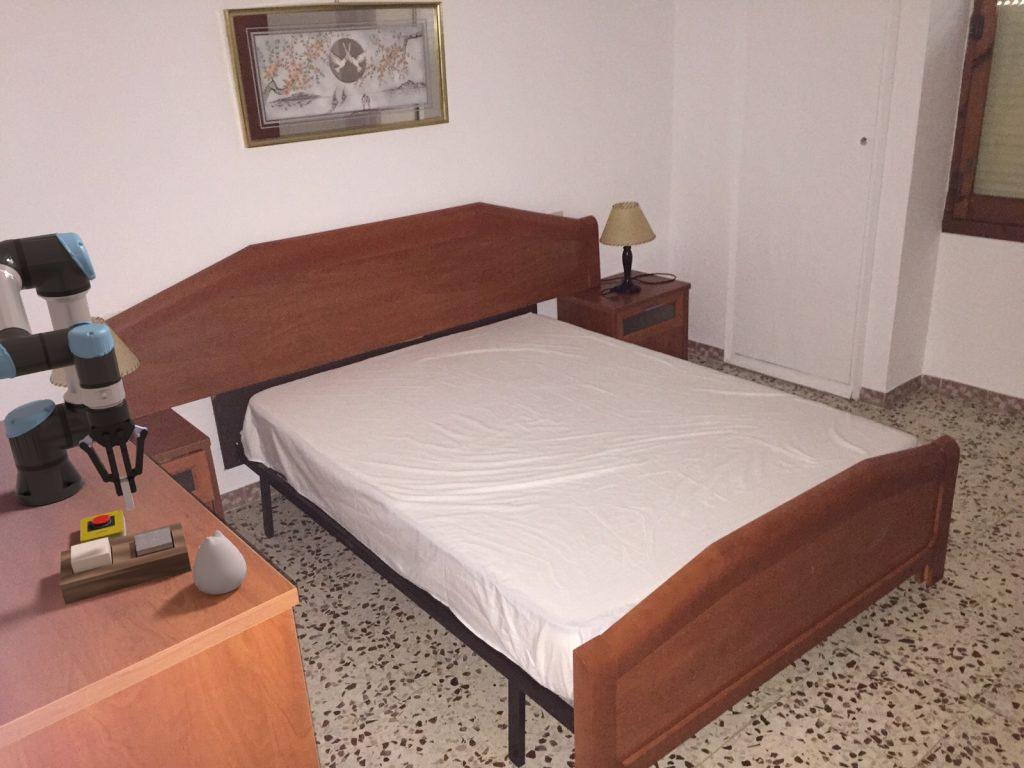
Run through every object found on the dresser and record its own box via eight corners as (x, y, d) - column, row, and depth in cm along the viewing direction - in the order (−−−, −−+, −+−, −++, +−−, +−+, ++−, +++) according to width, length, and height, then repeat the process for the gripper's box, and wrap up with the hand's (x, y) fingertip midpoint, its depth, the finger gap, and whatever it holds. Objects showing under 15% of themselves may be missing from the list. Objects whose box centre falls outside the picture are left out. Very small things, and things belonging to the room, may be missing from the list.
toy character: (219, 566, 175) (209, 517, 171) (259, 576, 171) (250, 525, 167) (184, 594, 166) (172, 542, 162) (225, 604, 163) (215, 552, 158)
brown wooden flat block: (66, 569, 177) (60, 551, 175) (184, 539, 186) (180, 522, 185) (65, 604, 165) (59, 585, 163) (191, 570, 175) (187, 551, 173)
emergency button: (121, 501, 196) (123, 530, 184) (125, 517, 198) (128, 547, 185) (78, 511, 193) (77, 541, 180) (82, 528, 194) (82, 559, 182)
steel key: (137, 549, 179) (134, 535, 178) (172, 540, 182) (169, 527, 180) (139, 565, 173) (136, 551, 172) (175, 555, 176) (172, 541, 174)
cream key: (74, 560, 174) (71, 546, 172) (111, 550, 176) (107, 537, 175) (74, 576, 168) (70, 562, 166) (112, 567, 170) (108, 552, 169)
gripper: (69, 416, 158) (97, 523, 166) (142, 401, 163) (165, 506, 172) (68, 403, 164) (95, 507, 172) (139, 389, 169) (161, 491, 178)
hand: (130, 507), depth 172 cm, fingers closed
